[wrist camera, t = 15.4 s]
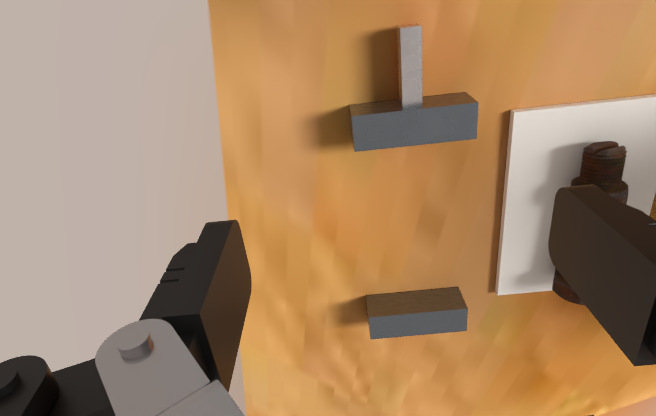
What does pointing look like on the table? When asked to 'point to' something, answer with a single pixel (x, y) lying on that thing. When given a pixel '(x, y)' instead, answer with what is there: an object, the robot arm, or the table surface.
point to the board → (564, 176)
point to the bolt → (606, 173)
